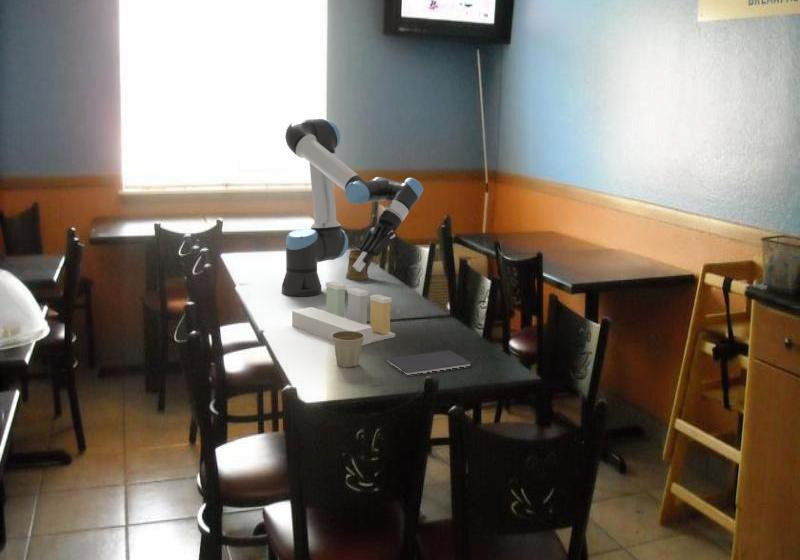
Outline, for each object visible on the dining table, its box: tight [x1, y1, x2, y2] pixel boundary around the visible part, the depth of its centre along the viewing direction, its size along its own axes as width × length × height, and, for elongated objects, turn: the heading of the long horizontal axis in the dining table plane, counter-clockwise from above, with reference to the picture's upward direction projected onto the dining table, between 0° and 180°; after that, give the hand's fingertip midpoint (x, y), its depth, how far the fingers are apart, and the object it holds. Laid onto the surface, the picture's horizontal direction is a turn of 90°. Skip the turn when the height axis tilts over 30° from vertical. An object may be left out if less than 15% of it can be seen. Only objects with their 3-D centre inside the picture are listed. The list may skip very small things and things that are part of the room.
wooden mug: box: [345, 249, 374, 281], centre depth 337 cm, size 9×14×18 cm, turn 99°
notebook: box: [385, 350, 472, 376], centre depth 235 cm, size 13×2×21 cm
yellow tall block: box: [369, 293, 393, 334], centre depth 259 cm, size 3×6×11 cm, turn 44°
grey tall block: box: [346, 287, 369, 325], centre depth 266 cm, size 3×6×11 cm, turn 44°
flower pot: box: [331, 331, 365, 368], centre depth 232 cm, size 9×9×9 cm
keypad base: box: [291, 306, 396, 346], centre depth 263 cm, size 18×30×5 cm, turn 44°
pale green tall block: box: [325, 281, 347, 318], centre depth 274 cm, size 3×6×11 cm, turn 44°
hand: (356, 269), depth 278 cm, fingers closed
